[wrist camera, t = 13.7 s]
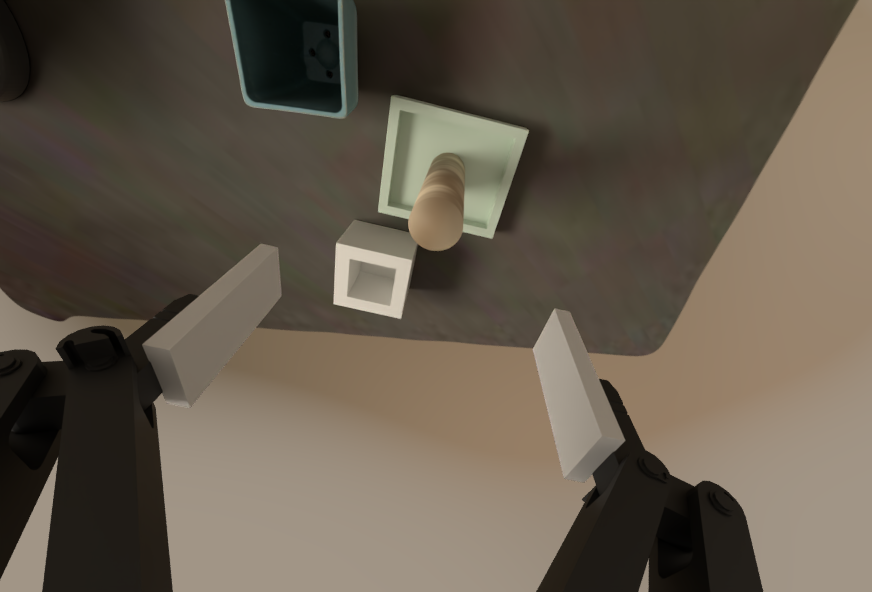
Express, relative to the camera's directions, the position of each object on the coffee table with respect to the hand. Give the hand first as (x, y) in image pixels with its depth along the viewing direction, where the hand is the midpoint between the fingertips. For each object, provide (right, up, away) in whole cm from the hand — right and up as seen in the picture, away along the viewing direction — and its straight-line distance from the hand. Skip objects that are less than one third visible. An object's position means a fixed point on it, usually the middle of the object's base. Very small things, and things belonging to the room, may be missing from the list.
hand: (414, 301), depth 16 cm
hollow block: (-6, +6, +29) cm, 30 cm away
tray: (+2, +15, +22) cm, 27 cm away
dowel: (+2, +14, +21) cm, 26 cm away
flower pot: (-10, +24, +17) cm, 31 cm away
